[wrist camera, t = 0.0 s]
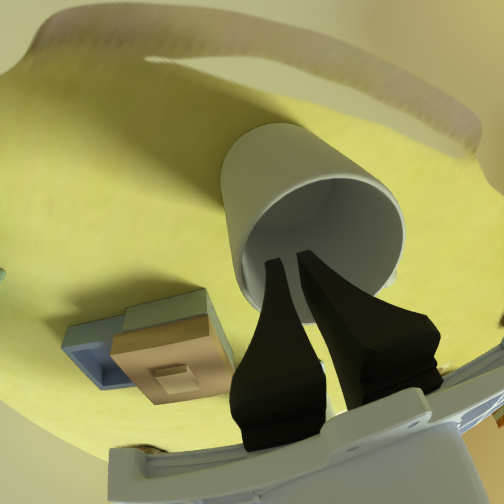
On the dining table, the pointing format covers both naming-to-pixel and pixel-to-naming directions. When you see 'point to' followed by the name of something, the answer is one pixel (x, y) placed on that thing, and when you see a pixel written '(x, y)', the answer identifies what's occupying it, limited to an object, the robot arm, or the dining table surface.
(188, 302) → the stand
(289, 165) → the mug
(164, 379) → the lid
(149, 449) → the rock
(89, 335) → the blue open tray
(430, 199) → the dining table surface
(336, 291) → the robot arm
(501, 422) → the mug
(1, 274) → the planter
